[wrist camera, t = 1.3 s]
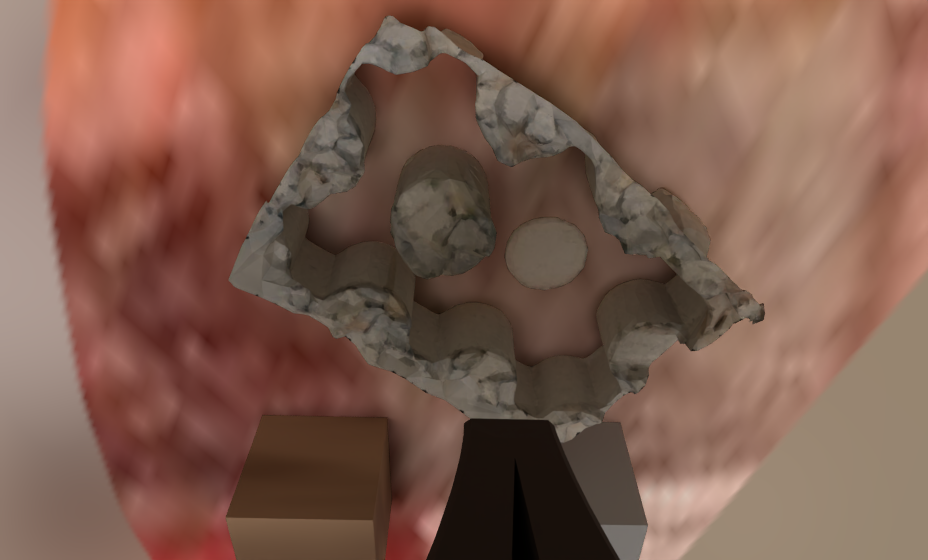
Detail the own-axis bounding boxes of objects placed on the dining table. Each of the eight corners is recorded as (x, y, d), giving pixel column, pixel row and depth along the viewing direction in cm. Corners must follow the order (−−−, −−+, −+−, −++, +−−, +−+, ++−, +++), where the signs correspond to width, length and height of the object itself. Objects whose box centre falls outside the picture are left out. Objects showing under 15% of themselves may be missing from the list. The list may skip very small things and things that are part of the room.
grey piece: (732, 232, 18) (796, 323, 15) (544, 393, 21) (560, 499, 18) (417, -40, 14) (403, -4, 11) (246, 204, 18) (194, 291, 14)
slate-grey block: (602, 501, 24) (625, 609, 20) (490, 500, 24) (494, 607, 20) (619, 420, 22) (647, 525, 18) (496, 418, 22) (501, 523, 18)
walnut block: (391, 497, 24) (379, 605, 20) (279, 496, 24) (247, 602, 20) (387, 415, 22) (373, 520, 18) (263, 413, 22) (225, 517, 18)
